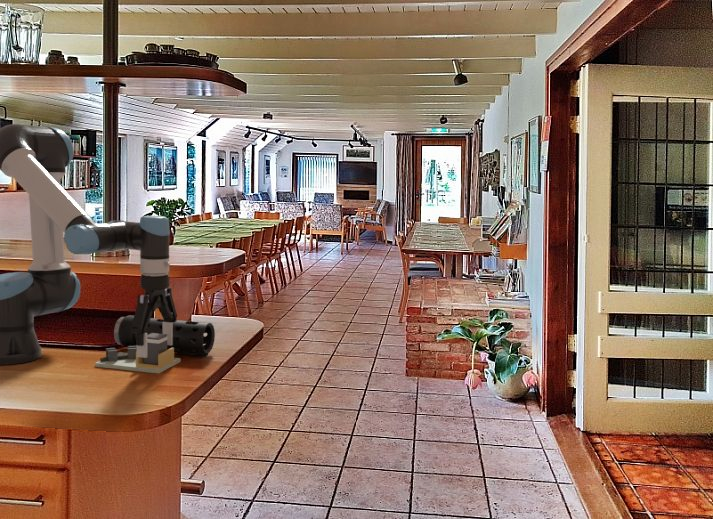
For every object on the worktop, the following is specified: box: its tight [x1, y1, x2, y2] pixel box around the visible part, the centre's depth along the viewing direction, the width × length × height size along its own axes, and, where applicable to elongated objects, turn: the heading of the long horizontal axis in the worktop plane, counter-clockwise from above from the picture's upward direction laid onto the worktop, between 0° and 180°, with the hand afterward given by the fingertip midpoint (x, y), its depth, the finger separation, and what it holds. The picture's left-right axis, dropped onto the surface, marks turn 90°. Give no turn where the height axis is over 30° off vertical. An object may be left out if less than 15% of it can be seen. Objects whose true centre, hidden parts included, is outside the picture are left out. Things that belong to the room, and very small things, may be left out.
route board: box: [94, 346, 181, 375], centre depth 194 cm, size 19×12×4 cm, turn 77°
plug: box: [144, 333, 167, 365], centre depth 191 cm, size 5×5×8 cm
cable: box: [99, 355, 128, 362], centre depth 195 cm, size 13×3×1 cm, turn 107°
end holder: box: [136, 348, 175, 369], centre depth 191 cm, size 7×8×4 cm
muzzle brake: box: [113, 314, 216, 357], centre depth 207 cm, size 10×28×10 cm, turn 78°
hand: (155, 350), depth 191 cm, fingers open, 13 cm apart
